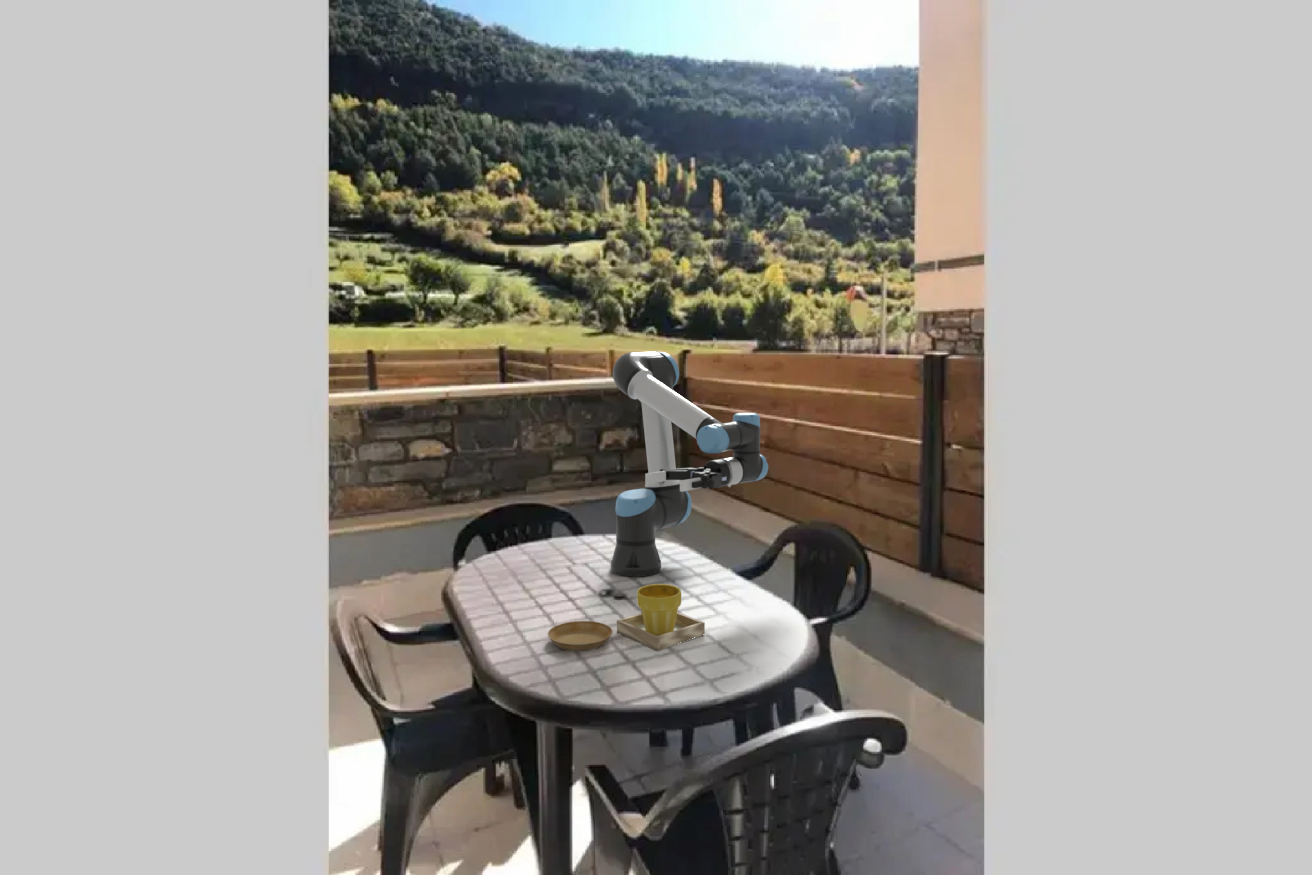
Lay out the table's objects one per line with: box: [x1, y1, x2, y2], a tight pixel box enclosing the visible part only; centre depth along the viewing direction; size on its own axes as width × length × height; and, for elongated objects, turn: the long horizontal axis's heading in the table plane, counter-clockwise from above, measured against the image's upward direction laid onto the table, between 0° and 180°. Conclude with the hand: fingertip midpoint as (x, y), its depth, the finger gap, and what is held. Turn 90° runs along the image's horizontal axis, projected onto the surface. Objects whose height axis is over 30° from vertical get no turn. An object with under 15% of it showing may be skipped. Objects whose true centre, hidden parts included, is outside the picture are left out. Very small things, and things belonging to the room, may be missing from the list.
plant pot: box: [636, 583, 682, 635], centre depth 187 cm, size 10×10×10 cm
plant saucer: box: [547, 620, 614, 652], centre depth 183 cm, size 15×15×3 cm
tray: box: [616, 611, 706, 652], centre depth 187 cm, size 15×15×3 cm
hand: (662, 482), depth 205 cm, fingers open, 13 cm apart
